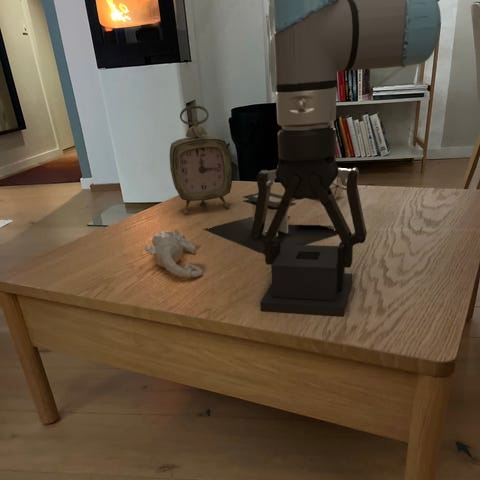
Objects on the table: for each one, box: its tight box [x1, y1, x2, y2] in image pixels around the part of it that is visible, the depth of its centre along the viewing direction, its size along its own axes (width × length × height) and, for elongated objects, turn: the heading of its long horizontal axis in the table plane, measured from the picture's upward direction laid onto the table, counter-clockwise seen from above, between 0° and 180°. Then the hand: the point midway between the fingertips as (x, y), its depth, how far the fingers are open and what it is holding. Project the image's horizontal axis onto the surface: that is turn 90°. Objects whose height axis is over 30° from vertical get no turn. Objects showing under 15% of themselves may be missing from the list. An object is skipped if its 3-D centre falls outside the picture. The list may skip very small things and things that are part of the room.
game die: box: [317, 177, 347, 200], centre depth 119 cm, size 9×8×10 cm
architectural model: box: [203, 189, 338, 255], centre depth 101 cm, size 20×25×10 cm
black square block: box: [270, 244, 339, 301], centre depth 71 cm, size 9×9×5 cm
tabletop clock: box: [169, 104, 233, 216], centre depth 119 cm, size 14×9×25 cm, turn 104°
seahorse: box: [144, 228, 204, 279], centre depth 89 cm, size 5×12×20 cm
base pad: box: [259, 273, 353, 317], centre depth 72 cm, size 12×12×6 cm
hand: (308, 285), depth 72 cm, fingers closed on black square block, 9 cm apart
